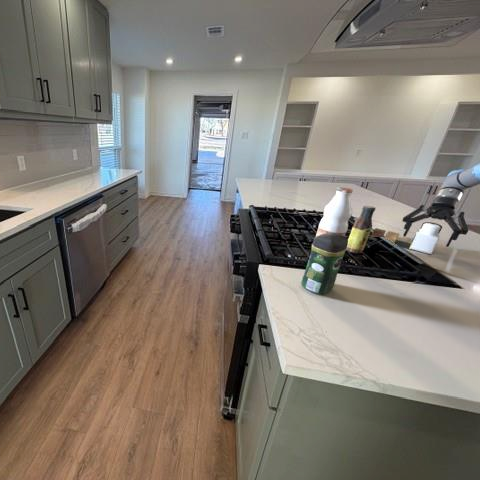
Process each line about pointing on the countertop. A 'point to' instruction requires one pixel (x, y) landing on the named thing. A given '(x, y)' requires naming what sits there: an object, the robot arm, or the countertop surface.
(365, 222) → the sauce bottle
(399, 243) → the word mat
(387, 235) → the maple letter tile
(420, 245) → the medicine bottle
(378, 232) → the walnut letter tile
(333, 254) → the coffee jar
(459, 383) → the countertop surface
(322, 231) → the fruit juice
